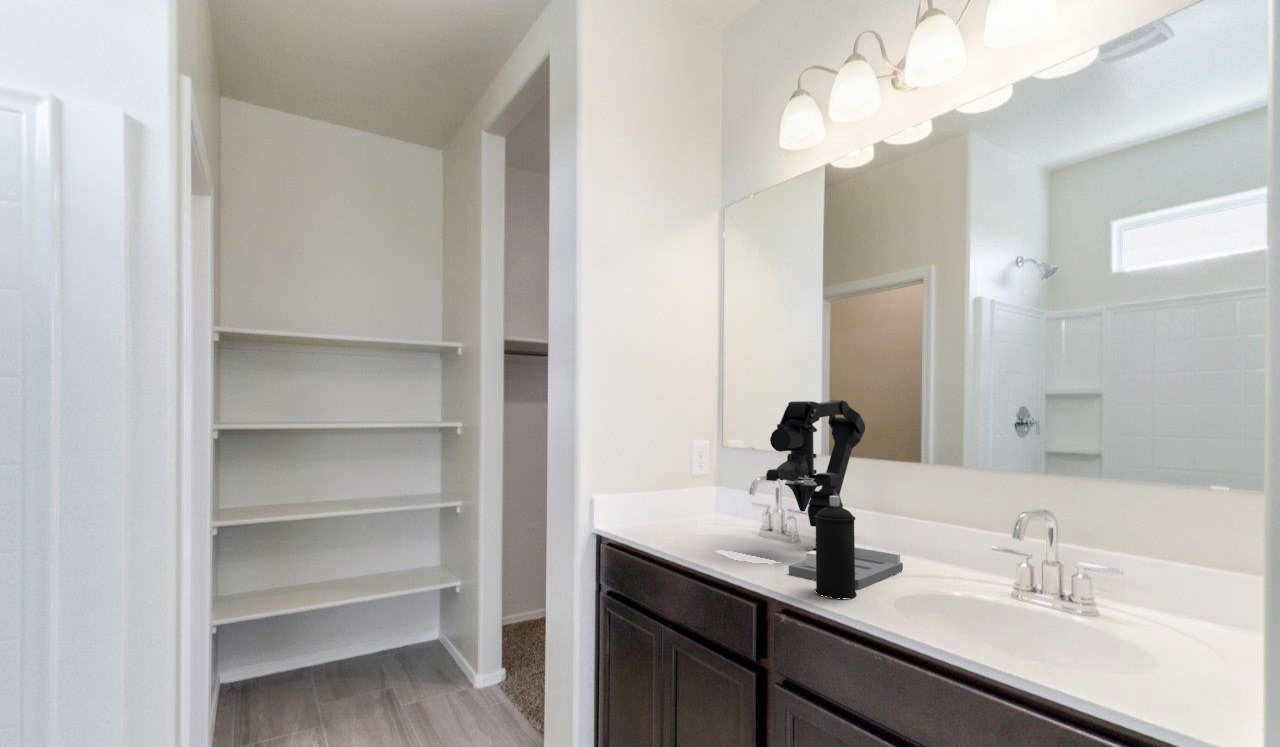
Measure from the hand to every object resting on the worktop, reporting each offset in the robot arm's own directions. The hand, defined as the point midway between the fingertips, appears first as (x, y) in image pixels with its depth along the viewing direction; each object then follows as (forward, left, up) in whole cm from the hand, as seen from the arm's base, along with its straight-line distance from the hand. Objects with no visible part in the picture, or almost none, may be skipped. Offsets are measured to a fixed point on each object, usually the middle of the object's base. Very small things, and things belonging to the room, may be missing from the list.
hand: (802, 511), depth 162 cm
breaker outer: (+12, +11, -10) cm, 19 cm away
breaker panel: (+5, +15, -12) cm, 19 cm away
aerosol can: (+22, +21, -12) cm, 33 cm away
